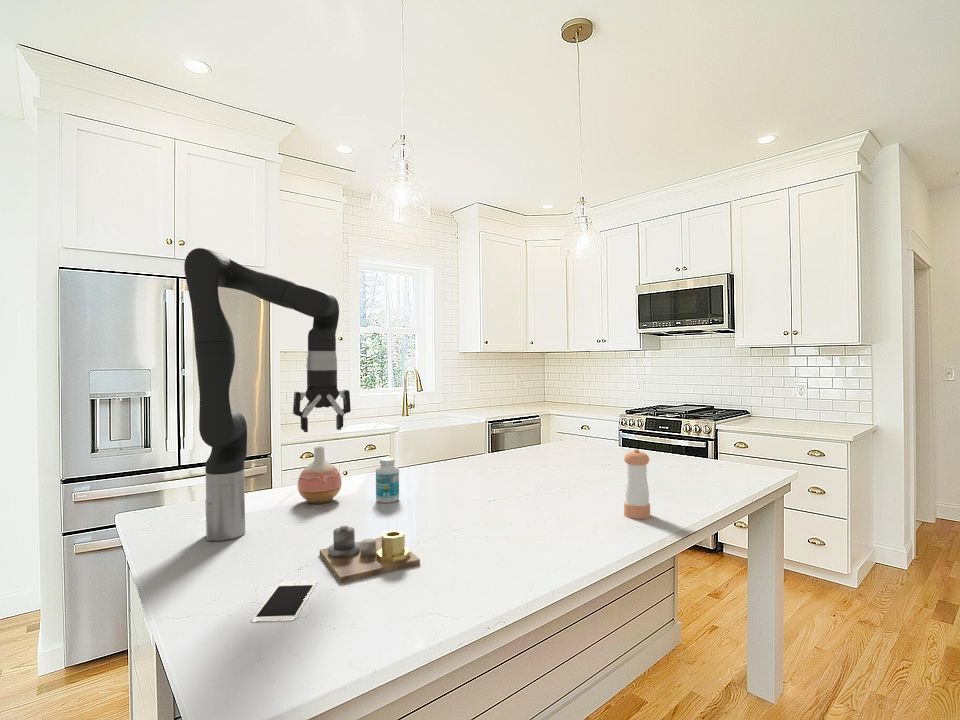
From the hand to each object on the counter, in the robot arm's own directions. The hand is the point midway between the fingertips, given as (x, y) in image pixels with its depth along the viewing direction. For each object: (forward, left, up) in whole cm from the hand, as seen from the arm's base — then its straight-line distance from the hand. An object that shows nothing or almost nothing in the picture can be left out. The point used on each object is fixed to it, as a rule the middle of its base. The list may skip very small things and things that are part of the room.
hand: (322, 430), depth 136 cm
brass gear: (+10, -25, -27) cm, 38 cm away
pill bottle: (+26, +23, -28) cm, 45 cm away
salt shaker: (+82, -31, -28) cm, 92 cm away
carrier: (+5, -21, -28) cm, 35 cm away
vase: (+7, +34, -28) cm, 45 cm away
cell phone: (-15, -32, -29) cm, 45 cm away
